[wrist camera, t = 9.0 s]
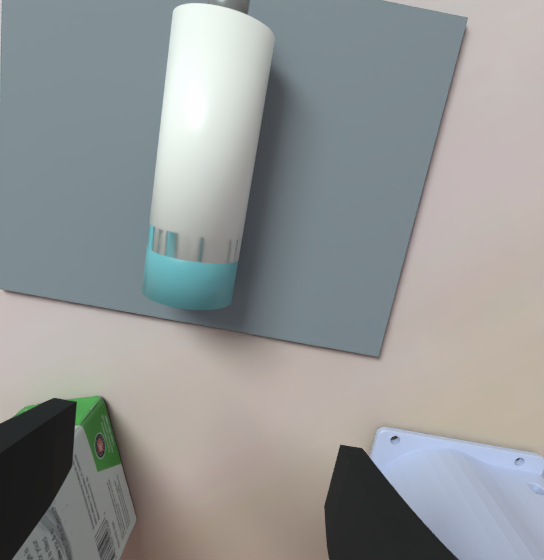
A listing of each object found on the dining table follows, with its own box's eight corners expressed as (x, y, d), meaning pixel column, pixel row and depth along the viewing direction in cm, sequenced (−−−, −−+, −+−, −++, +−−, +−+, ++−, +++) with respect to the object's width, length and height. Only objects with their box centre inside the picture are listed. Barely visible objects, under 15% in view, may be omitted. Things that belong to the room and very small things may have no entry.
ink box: (21, 403, 22) (-262, 639, 11) (107, 393, 22) (-86, 624, 10) (60, 531, 24) (-143, 850, 12) (139, 523, 24) (7, 841, 12)
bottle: (278, 23, 17) (284, -24, 13) (234, 290, 20) (228, 316, 16) (187, 3, 17) (165, -51, 13) (155, 277, 20) (129, 300, 16)
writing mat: (463, 21, 17) (468, 17, 17) (376, 353, 21) (378, 356, 21) (10, -70, 17) (4, -76, 17) (0, 286, 20) (-5, 288, 20)
